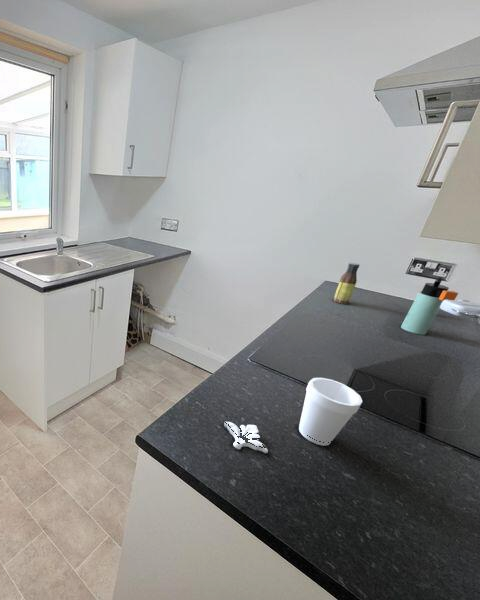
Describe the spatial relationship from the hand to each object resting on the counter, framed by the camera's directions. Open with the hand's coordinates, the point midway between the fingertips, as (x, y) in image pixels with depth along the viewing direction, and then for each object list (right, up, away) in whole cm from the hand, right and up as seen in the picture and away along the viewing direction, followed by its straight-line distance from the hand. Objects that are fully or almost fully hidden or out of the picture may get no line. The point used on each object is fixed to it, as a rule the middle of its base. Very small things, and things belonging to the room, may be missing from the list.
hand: (461, 302), depth 112 cm
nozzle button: (+1, +1, +6) cm, 6 cm away
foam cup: (-83, -32, -39) cm, 96 cm away
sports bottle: (+2, -12, +18) cm, 22 cm away
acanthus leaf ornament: (-101, -31, -41) cm, 113 cm away
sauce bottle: (-7, 0, +44) cm, 45 cm away
